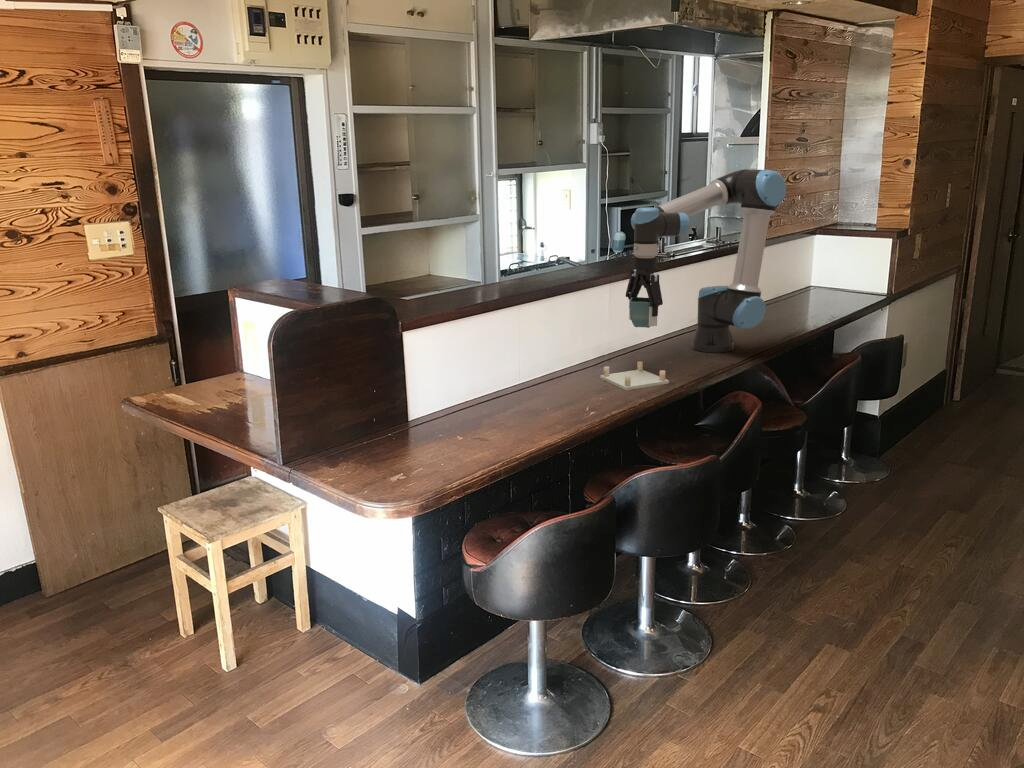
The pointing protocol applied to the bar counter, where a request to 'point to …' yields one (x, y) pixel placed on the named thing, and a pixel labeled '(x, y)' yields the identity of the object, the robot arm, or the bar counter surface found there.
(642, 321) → the flower pot
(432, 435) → the bar counter surface
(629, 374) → the pot stand
